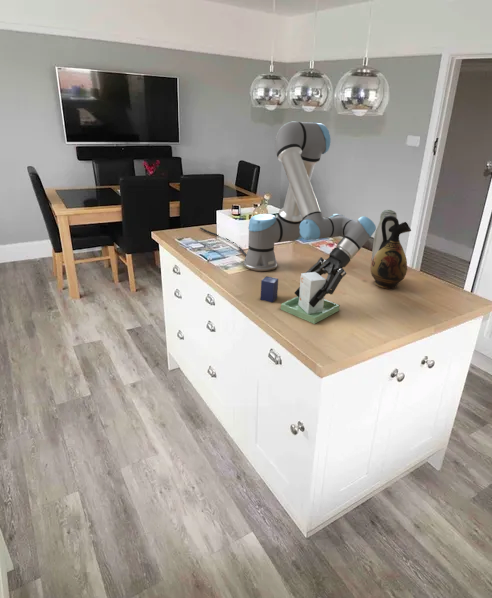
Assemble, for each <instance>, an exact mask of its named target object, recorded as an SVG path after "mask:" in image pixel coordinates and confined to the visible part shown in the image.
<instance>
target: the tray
mask: <svg viewBox="0 0 492 598" xmlns="http://www.w3.org/2000/svg"><path fill="white" fill-rule="evenodd" d="M298 303H299V297H298V296H297V295H296V296H295V297H293V298H290V299H288V300H286V301H284V302H282V303H280V310H281V311H283V312H285V313H288V314H290V315H292V316H294V317H297V318H299V319H301V320H304V321H306V322H309V323H311V324H313V325H315V324H317V323H319V322H320V321H322V320H325V319H326V318H328V317H331V315H334V314H335V313H338V312H339V311H340V304H338V303H336V302H333V301H331V300H328V299H325V298H324V304H323V312H319V313H313V314H307V313H306V312H305V311H304V310H303V309H302V308H301V307H300V306H298Z"/></svg>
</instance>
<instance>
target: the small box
mask: <svg viewBox="0 0 492 598" xmlns="http://www.w3.org/2000/svg"><path fill="white" fill-rule="evenodd" d="M326 279H327V278H325V277H323V276H322V275H319V274H318V273H316V272H309V273H306V272H301V273H300V279H299V287H300V291H299V303H298V306H300V307H301V308H302V309H303V310H304V311H305V312H306V313H307V314H313V313H319V312H323V304H324V299H325V296H324V297H323V299H322V300H320V301H319V302H318V303H317V304H316V305H315V307H312V306H311V305H310V304H309V302H310V301H311V299H312V298H313V297H314V296H315V295H316V293H317V292H318V291H319V290H320V289H321V288H323V287H324V284H325V283H326ZM321 290H322V289H321ZM322 291H323V290H322Z"/></svg>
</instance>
